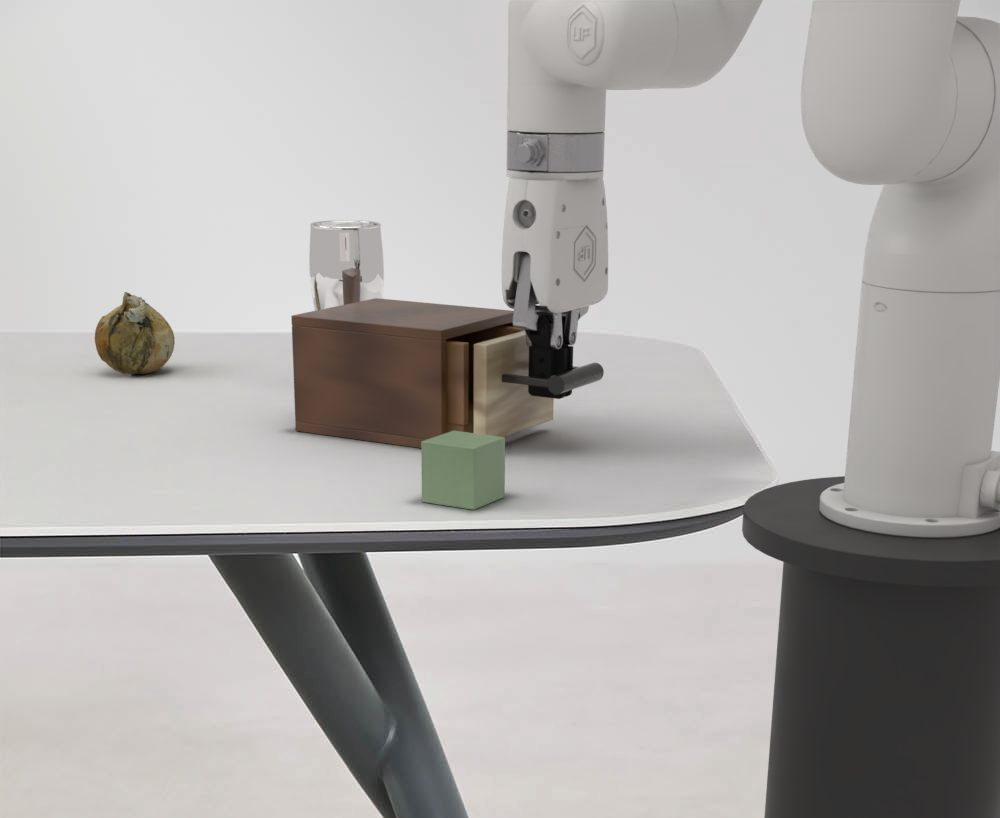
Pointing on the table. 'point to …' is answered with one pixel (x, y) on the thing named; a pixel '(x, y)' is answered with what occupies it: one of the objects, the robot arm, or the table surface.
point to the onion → (134, 337)
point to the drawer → (501, 383)
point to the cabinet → (379, 367)
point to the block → (463, 469)
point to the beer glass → (345, 262)
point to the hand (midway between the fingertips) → (550, 395)
